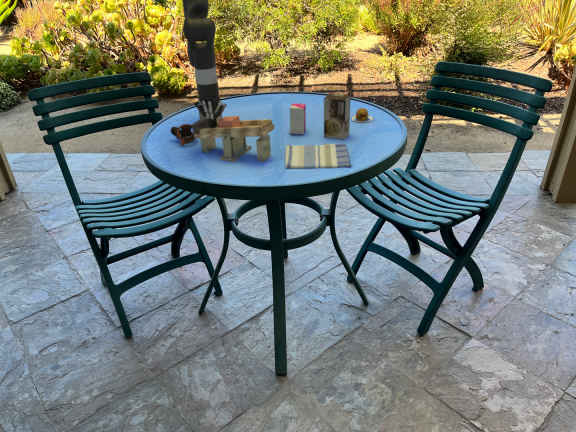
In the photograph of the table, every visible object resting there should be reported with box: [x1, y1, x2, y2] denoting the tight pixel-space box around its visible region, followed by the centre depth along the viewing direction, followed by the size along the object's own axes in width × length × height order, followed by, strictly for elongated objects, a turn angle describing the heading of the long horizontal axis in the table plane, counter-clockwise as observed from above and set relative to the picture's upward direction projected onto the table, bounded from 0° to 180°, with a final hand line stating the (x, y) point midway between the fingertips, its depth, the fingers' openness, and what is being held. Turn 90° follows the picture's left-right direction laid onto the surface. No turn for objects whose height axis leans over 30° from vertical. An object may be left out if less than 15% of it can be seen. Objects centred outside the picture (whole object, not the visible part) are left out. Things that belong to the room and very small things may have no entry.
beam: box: [190, 118, 276, 139], centre depth 152 cm, size 30×8×5 cm, turn 65°
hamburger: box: [351, 107, 374, 123], centre depth 182 cm, size 12×12×6 cm
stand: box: [199, 133, 272, 163], centre depth 155 cm, size 26×13×10 cm, turn 66°
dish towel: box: [284, 143, 352, 170], centre depth 152 cm, size 17×24×3 cm
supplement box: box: [289, 102, 307, 136], centre depth 170 cm, size 6×6×12 cm
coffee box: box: [323, 92, 351, 140], centre depth 165 cm, size 9×6×16 cm
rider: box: [218, 115, 241, 128], centre depth 152 cm, size 6×5×4 cm
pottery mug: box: [170, 123, 197, 147], centre depth 169 cm, size 12×10×8 cm
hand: (213, 127), depth 156 cm, fingers closed
